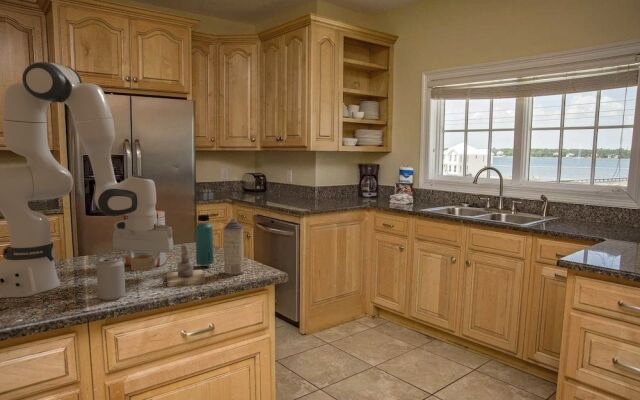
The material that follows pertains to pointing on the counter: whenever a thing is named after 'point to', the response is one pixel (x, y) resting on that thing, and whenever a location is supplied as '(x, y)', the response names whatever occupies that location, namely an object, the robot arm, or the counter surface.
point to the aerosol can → (233, 248)
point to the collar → (142, 262)
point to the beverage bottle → (204, 241)
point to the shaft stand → (185, 271)
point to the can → (110, 278)
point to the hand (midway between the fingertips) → (143, 263)
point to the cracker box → (161, 258)
